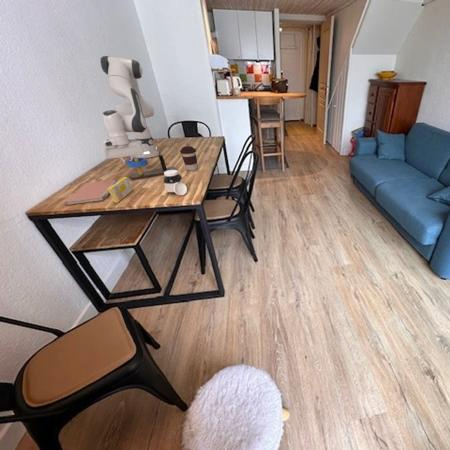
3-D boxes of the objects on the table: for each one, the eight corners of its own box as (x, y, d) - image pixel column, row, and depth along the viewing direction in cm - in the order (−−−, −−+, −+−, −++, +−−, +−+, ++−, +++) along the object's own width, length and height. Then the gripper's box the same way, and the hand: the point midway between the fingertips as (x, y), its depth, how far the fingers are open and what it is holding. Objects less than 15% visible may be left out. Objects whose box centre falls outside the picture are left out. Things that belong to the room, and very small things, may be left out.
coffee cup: (202, 167, 176) (198, 146, 168) (193, 172, 168) (188, 149, 160) (191, 166, 179) (186, 145, 171) (181, 170, 171) (175, 148, 163)
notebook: (105, 200, 131) (103, 196, 130) (67, 205, 126) (65, 201, 125) (118, 182, 153) (117, 179, 152) (86, 185, 148) (84, 182, 147)
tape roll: (128, 168, 151) (126, 163, 150) (128, 164, 159) (126, 159, 158) (148, 165, 156) (146, 160, 155) (147, 161, 164) (145, 156, 162)
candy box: (129, 190, 142) (124, 176, 137) (133, 190, 142) (128, 176, 138) (113, 203, 128) (107, 188, 124) (118, 202, 128) (111, 188, 124)
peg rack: (131, 180, 155) (125, 162, 149) (131, 175, 163) (124, 158, 157) (176, 172, 167) (171, 155, 161) (173, 168, 174) (169, 152, 168)
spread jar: (174, 187, 145) (169, 168, 138) (193, 188, 144) (188, 169, 137) (163, 196, 134) (156, 176, 128) (182, 197, 133) (177, 176, 127)
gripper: (139, 137, 155) (147, 159, 162) (100, 141, 145) (109, 164, 153) (140, 139, 150) (147, 161, 157) (99, 144, 141) (109, 167, 148)
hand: (128, 163), depth 155 cm, fingers closed on tape roll, 2 cm apart
